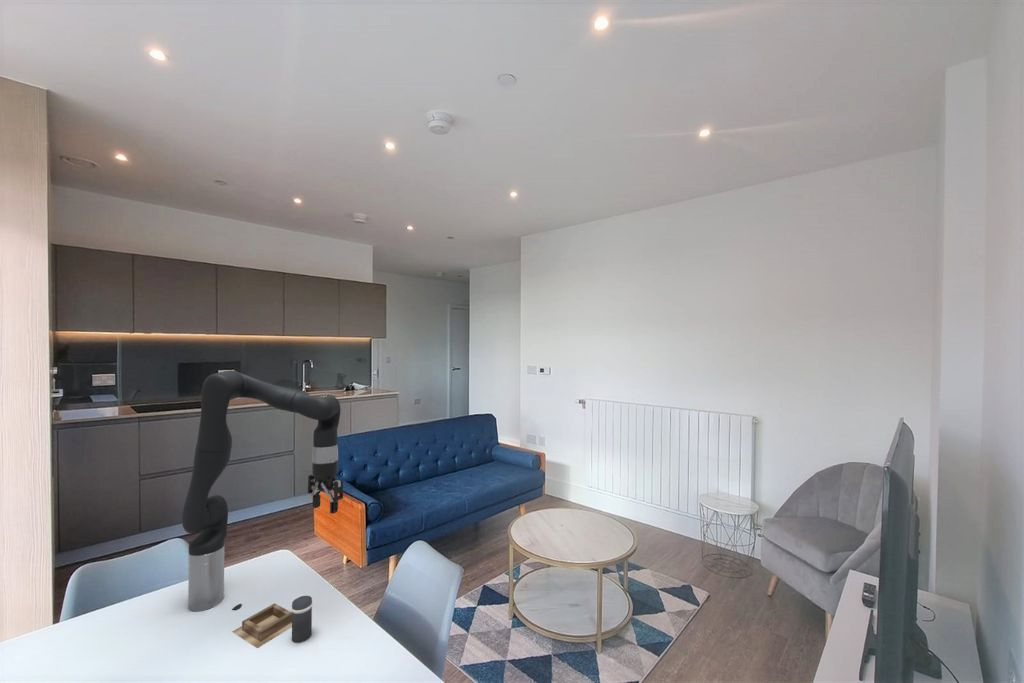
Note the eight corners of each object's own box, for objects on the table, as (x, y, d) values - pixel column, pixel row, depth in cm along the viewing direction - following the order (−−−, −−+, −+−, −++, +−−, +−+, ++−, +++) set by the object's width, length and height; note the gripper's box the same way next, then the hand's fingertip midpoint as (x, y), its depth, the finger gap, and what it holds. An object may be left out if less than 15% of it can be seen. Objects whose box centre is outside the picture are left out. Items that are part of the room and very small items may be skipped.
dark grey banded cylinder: (287, 639, 114) (287, 603, 114) (304, 627, 119) (304, 593, 119) (298, 646, 111) (298, 609, 112) (316, 634, 116) (316, 598, 116)
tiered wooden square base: (231, 633, 117) (232, 622, 117) (276, 608, 128) (277, 598, 128) (257, 650, 110) (257, 638, 111) (302, 622, 122) (302, 611, 122)
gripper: (300, 459, 131) (300, 509, 130) (329, 465, 124) (329, 519, 123) (321, 453, 137) (321, 501, 137) (350, 459, 130) (350, 510, 130)
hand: (325, 510), depth 130 cm, fingers open, 8 cm apart
